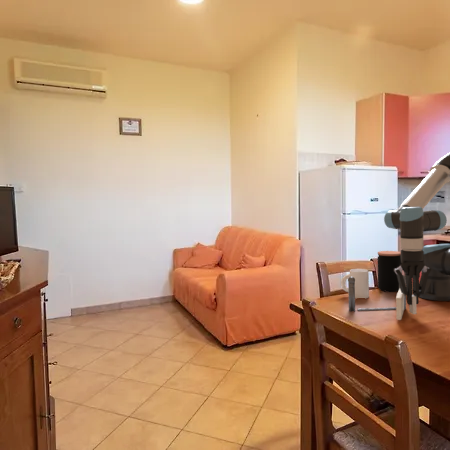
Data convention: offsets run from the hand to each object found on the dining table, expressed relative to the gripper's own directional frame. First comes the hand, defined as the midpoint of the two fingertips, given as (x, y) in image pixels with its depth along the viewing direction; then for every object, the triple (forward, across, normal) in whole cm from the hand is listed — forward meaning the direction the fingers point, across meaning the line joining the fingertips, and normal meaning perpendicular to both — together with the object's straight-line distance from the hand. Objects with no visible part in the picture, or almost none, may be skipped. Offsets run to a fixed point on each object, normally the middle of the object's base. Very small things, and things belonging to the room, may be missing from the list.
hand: (412, 312), depth 136 cm
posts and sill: (+2, +9, -11) cm, 14 cm away
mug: (+2, +11, -32) cm, 34 cm away
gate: (+1, +4, -2) cm, 4 cm away
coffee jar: (+2, -9, -42) cm, 43 cm away
